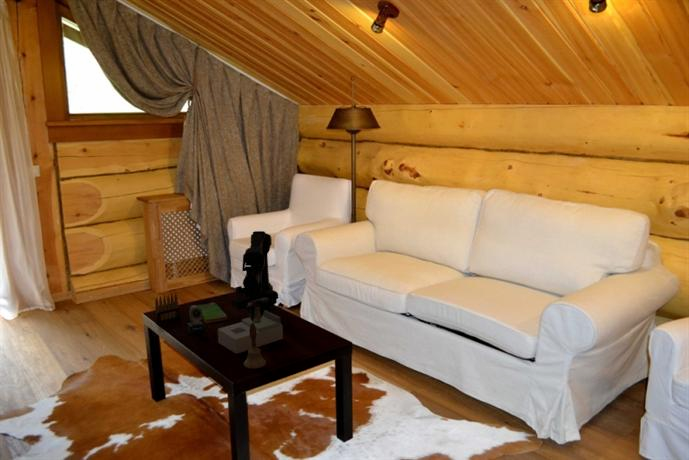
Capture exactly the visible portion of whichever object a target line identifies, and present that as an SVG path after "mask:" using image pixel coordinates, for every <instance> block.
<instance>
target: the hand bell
mask: <svg viewBox="0 0 689 460" xmlns="http://www.w3.org/2000/svg"><path fill="white" fill-rule="evenodd" d="M256 335H257V331H256V327H255V325H254V323H251V326H250V337H251V340H252V349H250V350H247V352H248V353H247V358H246V359H245V361H244V362H243V366H244V367H245V368H247V369H253V370H255V369H259V368H262V367H264V366H266V364H267V360H265V358H263V356H262V353H261V349H260V348H259V347H256Z"/></svg>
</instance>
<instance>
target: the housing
mask: <svg viewBox="0 0 689 460" xmlns="http://www.w3.org/2000/svg"><path fill="white" fill-rule="evenodd" d="M283 329H284V328H283V324H281V325H278V326H275V327H272V328H269V329H265V330H262V331H257V330H256V331H257V335H256V347H257V348H260V347H261V346H264V345H267V344H271V343H274V342H278V341H279V340H283V339H284V334H283V331H284V330H283ZM217 340H218V343H217V344H220V345H221V346H223V347H224V348H225V349H227V350H229V351H231V352H232V353H234V354H239V353H243V352H246V351H247V352H248V351H249V350H250V349H252V340H251V337H250V326H248V325H246V324H244V323H242V321H240V322H236V323H235V324H231V325H227V326H223V327H219V328H217Z"/></svg>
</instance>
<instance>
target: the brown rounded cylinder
mask: <svg viewBox="0 0 689 460" xmlns="http://www.w3.org/2000/svg"><path fill="white" fill-rule="evenodd" d="M260 322H261V316H260V308H258V306H257V307H255V306H254V320H253V321H252V323H260Z"/></svg>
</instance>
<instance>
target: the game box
mask: <svg viewBox="0 0 689 460" xmlns="http://www.w3.org/2000/svg"><path fill="white" fill-rule="evenodd" d="M196 306H197V307H199V309H201V311H202V312H203V313H202V317H201V320H203V322H204V323H205V324H211V323H212V324H213V323H217V322H223V321H228V316H227V314H226V313H225V312H224V311H223V309H222V308H221V307H220V306H219V305H218V304H217V303H216V302H211V303H210V302H209V303H205V304H198V305H196Z"/></svg>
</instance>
